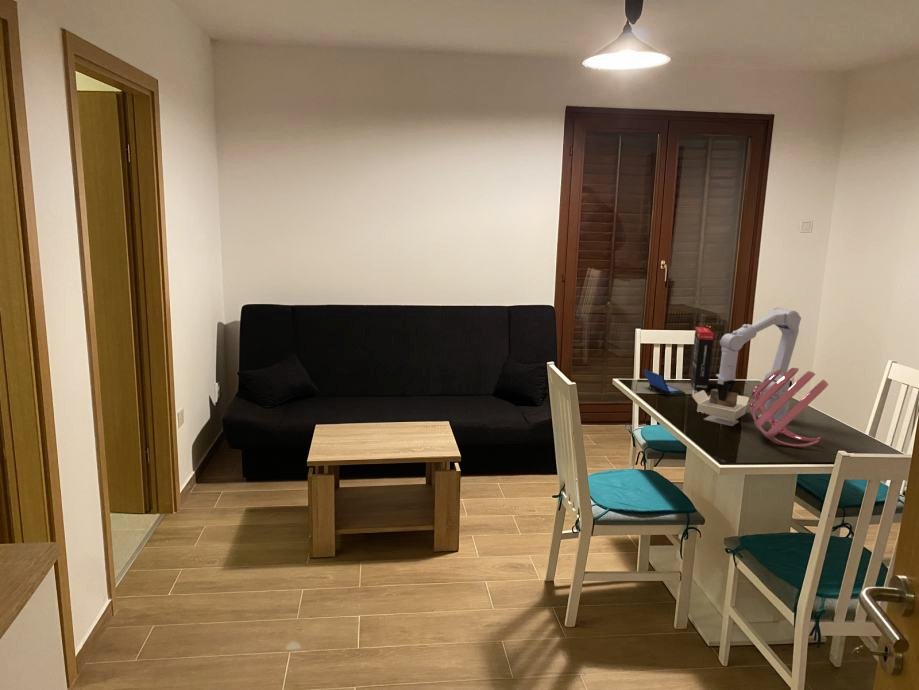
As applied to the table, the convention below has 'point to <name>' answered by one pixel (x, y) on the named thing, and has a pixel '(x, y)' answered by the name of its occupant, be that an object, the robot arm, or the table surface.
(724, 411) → the carton
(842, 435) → the table surface
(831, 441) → the table surface
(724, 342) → the robot arm
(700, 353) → the graphics card box
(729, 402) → the capped block
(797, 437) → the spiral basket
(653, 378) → the handheld game console
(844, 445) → the table surface
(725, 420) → the grey mat
